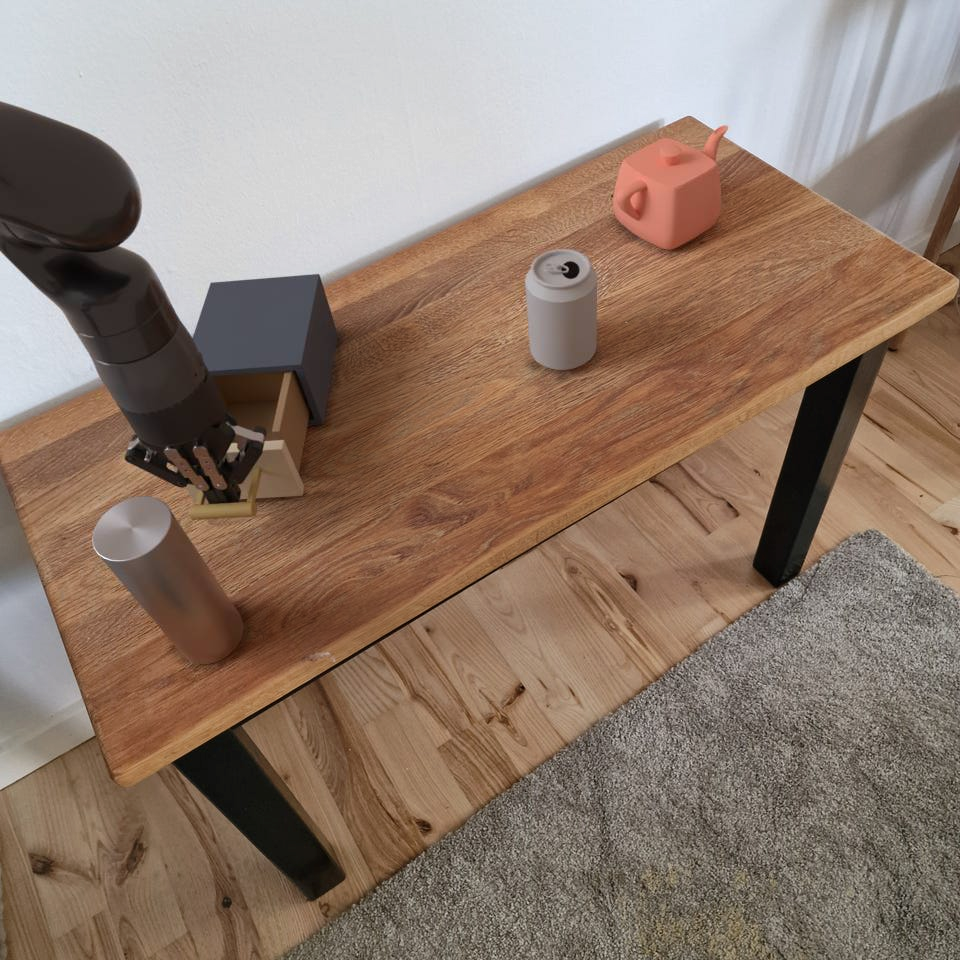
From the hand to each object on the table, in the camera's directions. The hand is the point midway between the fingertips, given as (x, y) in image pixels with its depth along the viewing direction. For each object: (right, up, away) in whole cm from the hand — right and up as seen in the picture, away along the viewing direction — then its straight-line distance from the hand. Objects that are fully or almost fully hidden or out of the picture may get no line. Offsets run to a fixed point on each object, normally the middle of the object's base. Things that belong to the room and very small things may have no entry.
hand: (229, 504), depth 79 cm
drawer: (+1, +3, +7) cm, 8 cm away
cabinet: (+1, +14, +16) cm, 21 cm away
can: (+34, +17, +14) cm, 40 cm away
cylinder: (0, -12, -4) cm, 12 cm away
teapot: (+49, +36, +28) cm, 66 cm away
